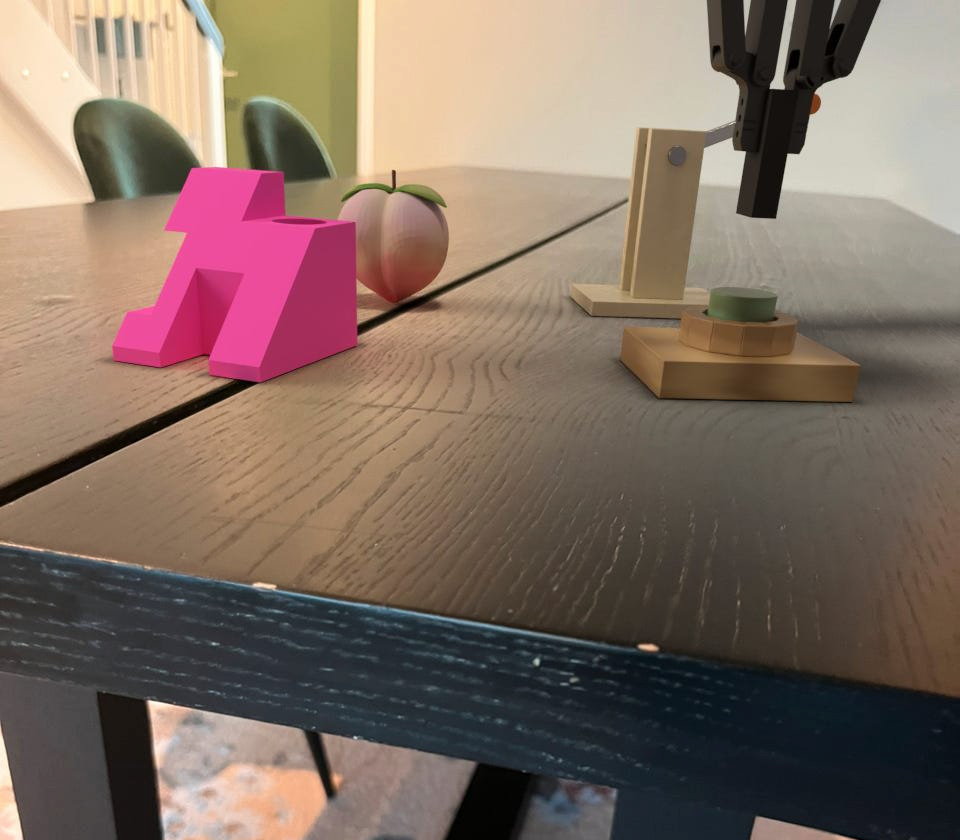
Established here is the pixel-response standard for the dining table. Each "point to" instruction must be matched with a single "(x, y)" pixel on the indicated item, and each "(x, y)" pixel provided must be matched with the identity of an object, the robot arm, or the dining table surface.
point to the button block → (737, 360)
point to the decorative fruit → (397, 236)
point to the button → (742, 304)
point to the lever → (728, 129)
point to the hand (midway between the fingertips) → (755, 215)
